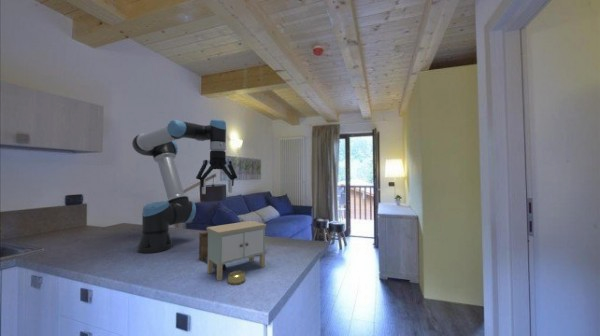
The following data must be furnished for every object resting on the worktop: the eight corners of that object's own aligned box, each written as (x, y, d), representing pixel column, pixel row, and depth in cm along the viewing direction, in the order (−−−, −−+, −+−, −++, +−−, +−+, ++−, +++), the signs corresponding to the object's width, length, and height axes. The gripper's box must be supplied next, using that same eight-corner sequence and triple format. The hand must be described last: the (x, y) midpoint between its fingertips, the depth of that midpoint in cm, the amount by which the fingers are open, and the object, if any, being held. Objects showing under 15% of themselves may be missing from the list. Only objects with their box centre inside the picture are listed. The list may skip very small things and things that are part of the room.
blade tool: (199, 259, 109) (199, 232, 109) (207, 256, 112) (208, 230, 112) (217, 272, 95) (217, 241, 95) (227, 269, 98) (227, 239, 98)
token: (226, 285, 84) (225, 278, 84) (230, 277, 90) (229, 271, 90) (243, 284, 84) (243, 277, 84) (246, 276, 90) (246, 270, 90)
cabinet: (205, 272, 95) (206, 227, 95) (252, 259, 109) (252, 220, 109) (218, 282, 86) (219, 232, 86) (267, 267, 100) (267, 224, 100)
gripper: (194, 148, 111) (194, 195, 110) (243, 151, 127) (243, 192, 127) (189, 149, 116) (188, 193, 116) (237, 152, 133) (236, 191, 132)
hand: (217, 193), depth 121 cm, fingers open, 13 cm apart
